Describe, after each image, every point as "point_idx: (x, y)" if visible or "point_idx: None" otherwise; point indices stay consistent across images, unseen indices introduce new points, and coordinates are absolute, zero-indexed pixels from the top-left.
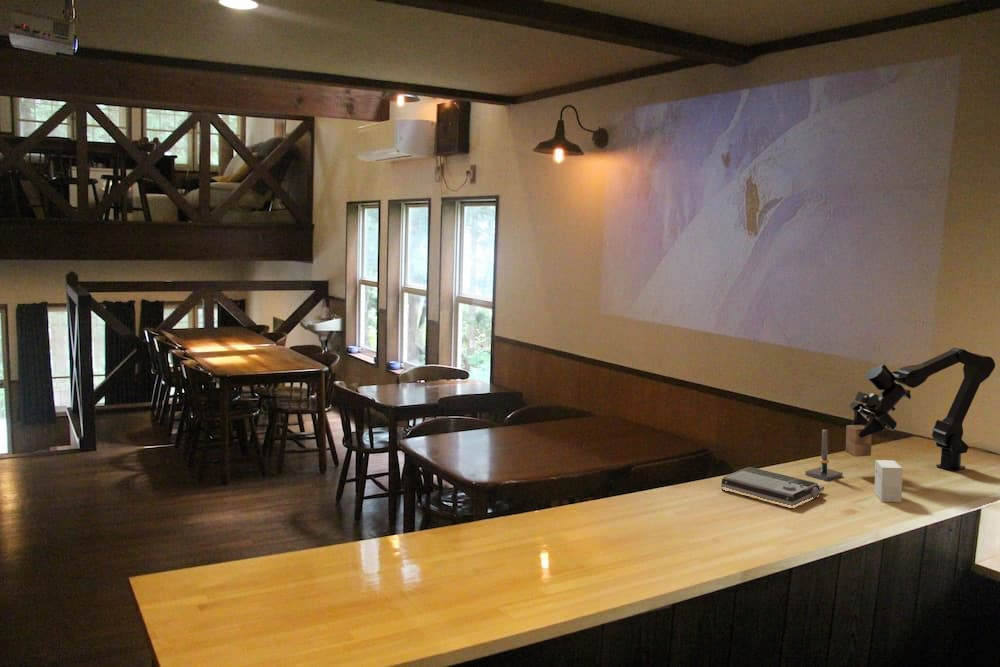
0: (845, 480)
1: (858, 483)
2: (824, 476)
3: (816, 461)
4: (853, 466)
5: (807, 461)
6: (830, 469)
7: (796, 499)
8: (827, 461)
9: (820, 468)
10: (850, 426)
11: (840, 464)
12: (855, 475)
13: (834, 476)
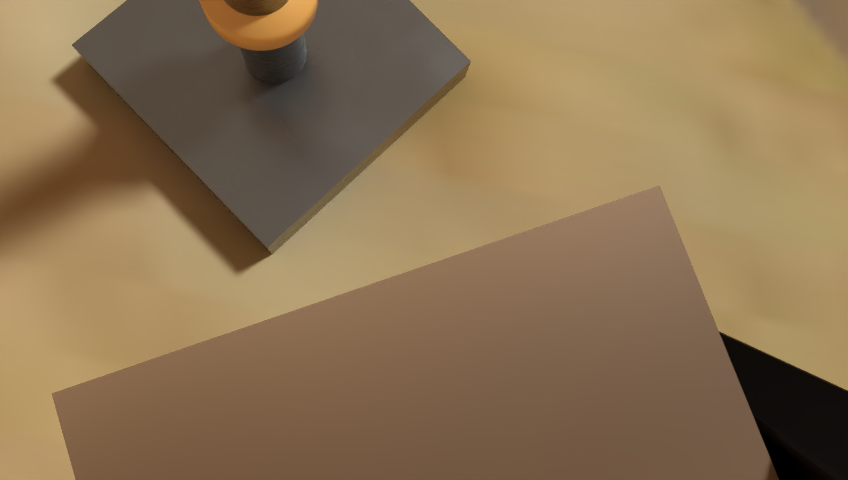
0: (128, 258)
1: (27, 377)
2: (104, 26)
3: (780, 91)
4: None
5: (760, 3)
6: (382, 140)
7: None
8: (207, 15)
9: (405, 42)
10: (517, 295)
11: (721, 320)
12: None
13: (168, 146)
